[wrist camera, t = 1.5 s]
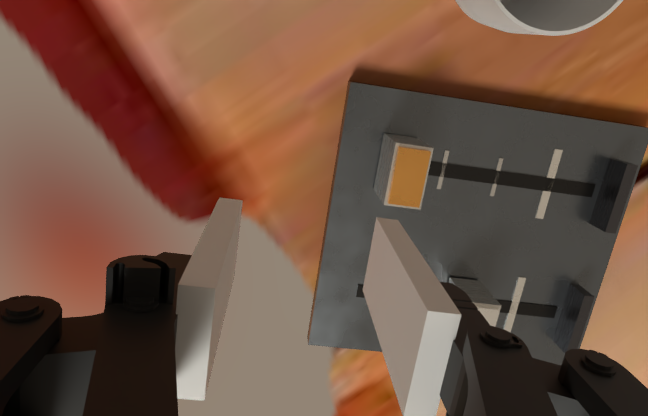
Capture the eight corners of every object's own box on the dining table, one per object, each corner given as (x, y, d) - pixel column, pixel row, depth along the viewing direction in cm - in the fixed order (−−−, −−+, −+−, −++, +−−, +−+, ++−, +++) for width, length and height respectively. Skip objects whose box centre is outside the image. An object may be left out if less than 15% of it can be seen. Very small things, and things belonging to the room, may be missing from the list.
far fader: (449, 277, 38) (469, 304, 34) (480, 280, 38) (503, 307, 34) (438, 324, 39) (456, 355, 35) (468, 327, 39) (489, 358, 35)
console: (348, 81, 35) (354, 83, 32) (641, 126, 37) (673, 132, 34) (307, 336, 40) (309, 359, 37) (564, 361, 43) (586, 384, 40)
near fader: (383, 132, 35) (396, 143, 30) (417, 137, 35) (435, 148, 31) (373, 189, 36) (384, 206, 32) (406, 193, 36) (421, 211, 32)
